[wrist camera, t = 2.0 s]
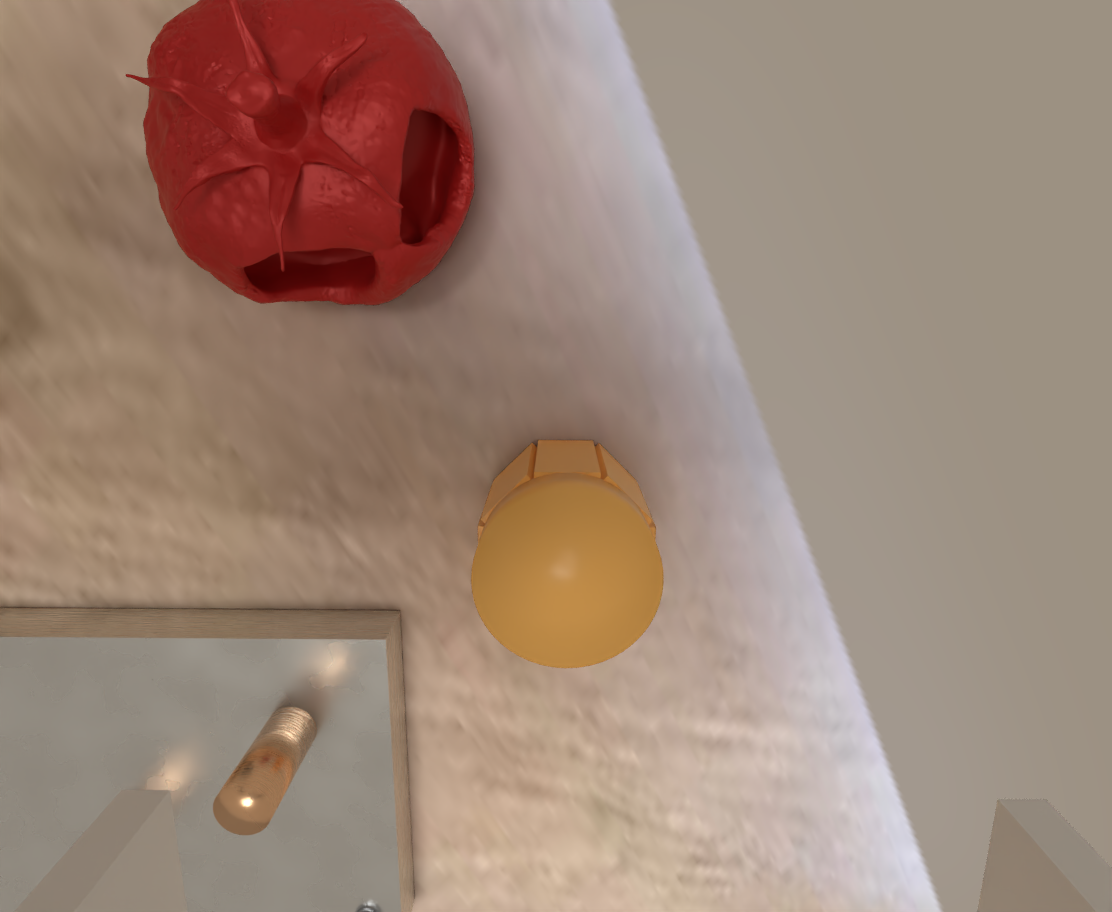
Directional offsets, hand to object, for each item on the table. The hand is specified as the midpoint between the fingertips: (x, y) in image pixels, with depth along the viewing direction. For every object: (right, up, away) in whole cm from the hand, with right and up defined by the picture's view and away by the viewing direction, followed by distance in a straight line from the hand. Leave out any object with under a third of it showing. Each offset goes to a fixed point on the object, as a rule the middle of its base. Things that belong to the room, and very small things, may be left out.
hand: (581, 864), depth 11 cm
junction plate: (-16, -7, +20) cm, 27 cm away
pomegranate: (-8, +17, +14) cm, 24 cm away
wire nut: (0, +4, +17) cm, 18 cm away
